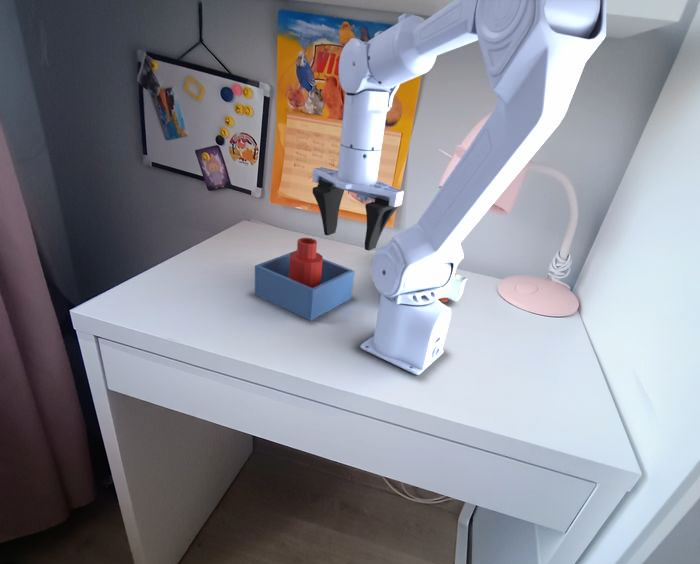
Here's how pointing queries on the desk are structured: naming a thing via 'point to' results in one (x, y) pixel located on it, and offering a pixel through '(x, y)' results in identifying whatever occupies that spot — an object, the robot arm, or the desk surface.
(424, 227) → the robot arm
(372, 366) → the desk surface
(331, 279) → the tub
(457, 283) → the tape dispenser
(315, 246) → the bottle
